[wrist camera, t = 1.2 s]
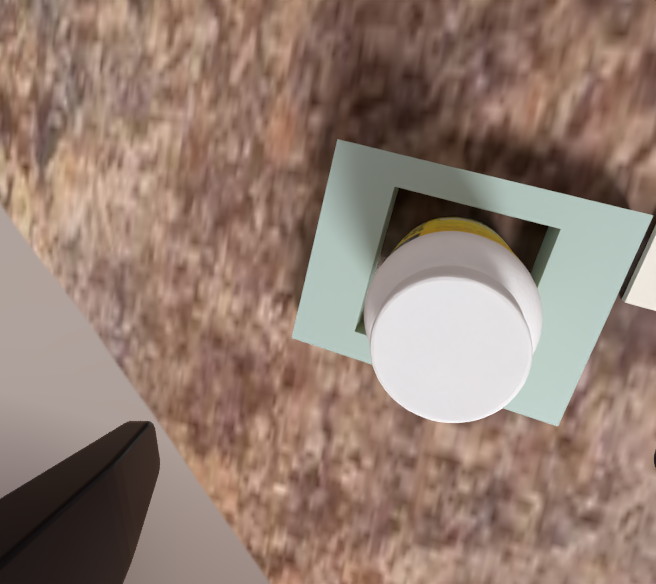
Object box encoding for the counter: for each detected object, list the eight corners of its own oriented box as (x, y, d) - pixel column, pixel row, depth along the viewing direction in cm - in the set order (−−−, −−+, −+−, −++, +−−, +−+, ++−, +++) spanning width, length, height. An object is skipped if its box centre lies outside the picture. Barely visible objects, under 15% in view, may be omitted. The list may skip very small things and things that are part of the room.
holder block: (632, 211, 18) (653, 215, 16) (547, 403, 20) (557, 426, 19) (347, 143, 20) (337, 139, 18) (304, 324, 23) (291, 337, 21)
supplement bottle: (415, 197, 20) (388, 210, 11) (535, 241, 19) (617, 297, 10) (372, 304, 22) (317, 396, 12) (480, 349, 21) (507, 484, 12)
